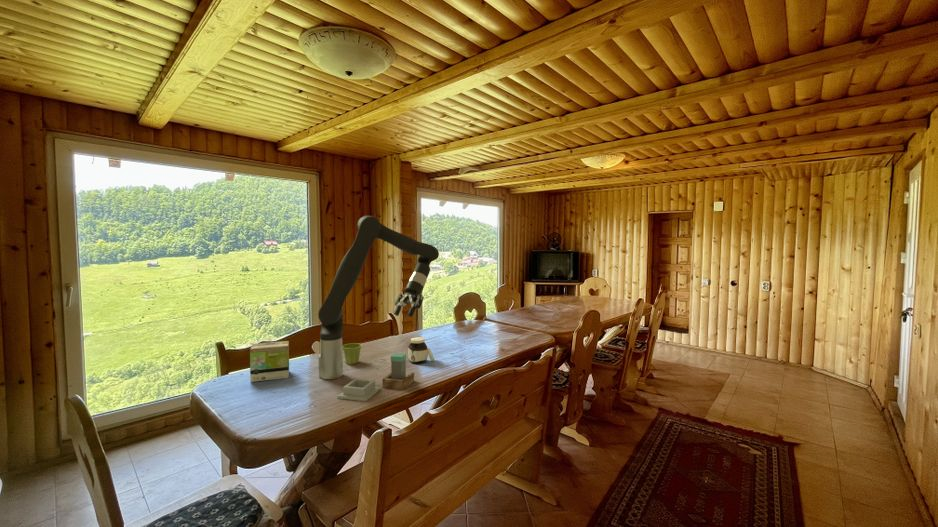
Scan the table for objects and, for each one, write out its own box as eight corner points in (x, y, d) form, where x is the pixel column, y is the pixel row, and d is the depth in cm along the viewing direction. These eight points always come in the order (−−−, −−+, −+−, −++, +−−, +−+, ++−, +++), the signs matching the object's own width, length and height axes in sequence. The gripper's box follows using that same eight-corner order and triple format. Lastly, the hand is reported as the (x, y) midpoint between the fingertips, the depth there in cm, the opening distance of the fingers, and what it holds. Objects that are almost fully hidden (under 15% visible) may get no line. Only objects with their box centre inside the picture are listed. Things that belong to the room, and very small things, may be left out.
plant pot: (358, 365, 183) (358, 348, 183) (339, 365, 183) (339, 348, 183) (364, 359, 193) (364, 343, 192) (346, 359, 193) (345, 343, 192)
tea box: (250, 383, 161) (249, 349, 160) (252, 375, 170) (251, 343, 169) (289, 378, 167) (288, 345, 166) (289, 371, 176) (289, 339, 175)
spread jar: (405, 361, 191) (405, 338, 190) (424, 356, 198) (423, 334, 198) (419, 366, 182) (419, 343, 181) (438, 361, 190) (438, 338, 189)
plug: (391, 382, 158) (390, 356, 157) (395, 378, 163) (395, 352, 162) (401, 383, 157) (401, 357, 156) (406, 379, 162) (406, 353, 161)
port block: (337, 398, 145) (337, 388, 145) (353, 386, 157) (353, 377, 157) (365, 401, 143) (365, 391, 142) (380, 389, 154) (380, 379, 154)
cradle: (382, 387, 156) (382, 379, 156) (392, 378, 166) (392, 371, 166) (405, 389, 154) (405, 381, 154) (414, 380, 164) (414, 372, 163)
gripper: (400, 279, 176) (386, 310, 169) (422, 279, 168) (409, 312, 160) (410, 288, 181) (396, 318, 174) (432, 288, 173) (419, 320, 165)
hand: (402, 315), depth 167 cm, fingers open, 8 cm apart
